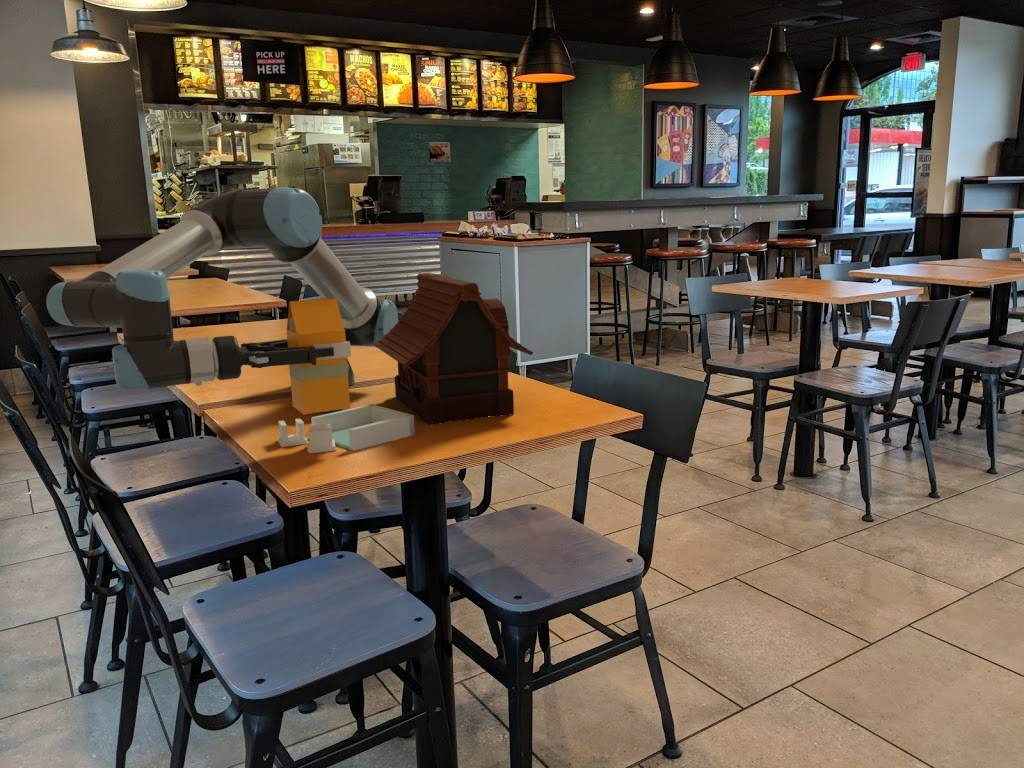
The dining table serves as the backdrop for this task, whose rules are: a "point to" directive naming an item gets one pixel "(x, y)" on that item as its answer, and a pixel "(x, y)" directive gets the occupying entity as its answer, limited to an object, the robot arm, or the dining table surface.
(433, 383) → the house
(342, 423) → the tray
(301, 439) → the clip
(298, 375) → the orange juice
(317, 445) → the white upright piece
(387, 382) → the dining table surface
